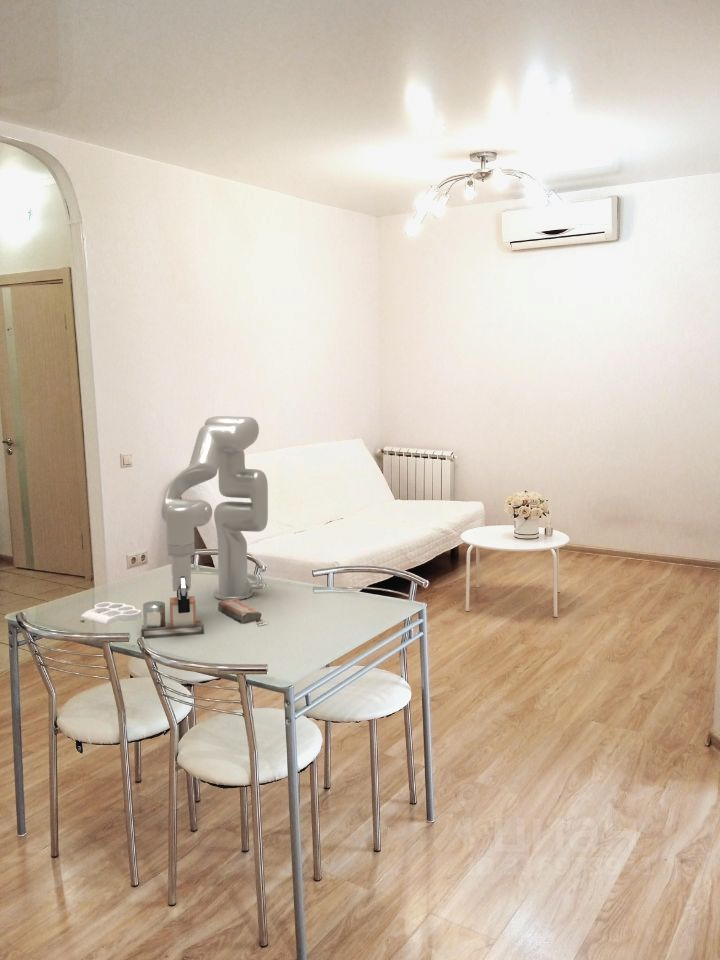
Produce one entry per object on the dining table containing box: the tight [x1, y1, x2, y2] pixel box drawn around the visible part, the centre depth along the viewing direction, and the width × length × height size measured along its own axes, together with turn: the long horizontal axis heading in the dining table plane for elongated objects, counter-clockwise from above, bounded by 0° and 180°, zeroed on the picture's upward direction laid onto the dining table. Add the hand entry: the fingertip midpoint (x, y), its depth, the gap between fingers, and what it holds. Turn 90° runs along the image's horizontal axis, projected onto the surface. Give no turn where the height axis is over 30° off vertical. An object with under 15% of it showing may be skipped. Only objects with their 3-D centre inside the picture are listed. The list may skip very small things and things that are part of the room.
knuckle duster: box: [80, 601, 142, 626], centre depth 244 cm, size 3×18×15 cm
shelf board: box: [140, 620, 205, 639], centre depth 231 cm, size 17×12×4 cm
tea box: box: [169, 595, 197, 627], centre depth 230 cm, size 7×5×9 cm
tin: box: [142, 600, 166, 629], centre depth 229 cm, size 6×6×8 cm
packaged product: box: [215, 599, 269, 626], centre depth 244 cm, size 18×5×10 cm
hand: (183, 607), depth 230 cm, fingers open, 9 cm apart
